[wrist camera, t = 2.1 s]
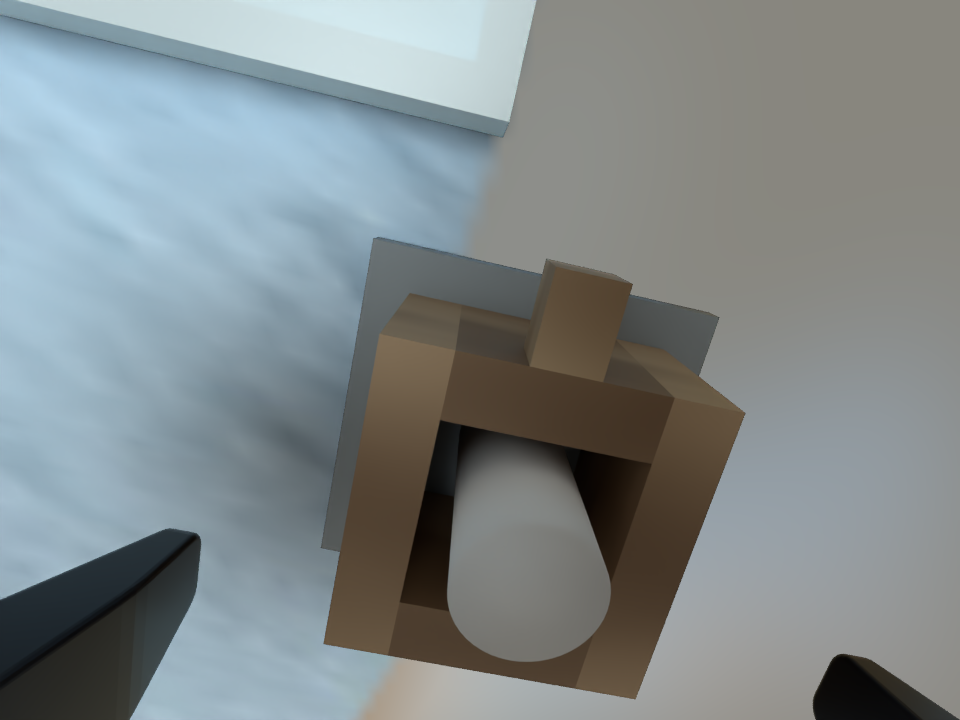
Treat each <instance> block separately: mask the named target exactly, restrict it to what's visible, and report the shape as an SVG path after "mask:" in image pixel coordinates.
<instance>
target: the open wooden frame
mask: <svg viewBox="0 0 960 720" xmlns="http://www.w3.org/2000/svg"><path fill="white" fill-rule="evenodd" d="M632 285H633V284H631V283H629V282H628V281H626V280H624V279H622V278H620V277H618V276H616V275H614V274H610V273H606V272H602V271H597V270H593V269H589V268H584V267H580V266H575V265H571V264H567V263H563V262H558V261H554V260H550V259H546V263H545V266H544V270H543V274H542V278H541V282H540V285H539V289H538V293H537V297H536V301H535V305H534V309H533V313H532V317H531V320H529V319H524V318H520V317H515V316H511V315H506V314H502V313H497V312H493V311H488V310H484V309H480V308H475V307H471V306H466V305H462V304H457V303H453V302H448V301H444V300H439V299H435V298H430V297H426V296H421V295H417V294H412V293H409V295H408V296H407V297H406V299H405V300H404V301H403V303H402V304H401V306H400V307H399V308H398V310H397V311H396V312H395V314H394V315H393V316H392V318H391V319H390V320H389V322H388V323H387V324H386V326H385V327H384V329H383V330H382V331H381V333H380V334H379V340H378V345H377V351H376V356H375V362H374V367H373V373H372V378H371V384H370V389H369V395H368V400H367V406H366V412H365V417H364V423H363V428H362V434H361V439H360V445H359V450H358V456H357V461H356V467H355V472H354V478H353V483H352V489H351V494H350V500H349V506H348V511H347V517H346V522H345V528H344V533H343V539H342V544H341V550H340V555H339V561H338V566H337V572H336V577H335V583H334V588H333V594H332V600H331V605H330V611H329V616H328V622H327V627H326V633H325V638H324V644H326V645H332V646H338V647H343V648H349V649H354V650H360V651H366V652H371V653H377V654H383V655H388V656H394V657H400V658H405V659H411V660H417V661H423V662H428V663H434V664H439V665H446V666H451V667H456V668H462V669H467V670H473V671H479V672H484V673H490V674H496V675H501V676H507V677H513V678H518V679H524V680H530V681H535V682H541V683H546V684H552V685H559V686H563V687H569V688H575V689H581V690H586V691H592V692H597V693H603V694H609V695H615V696H620V697H626V698H631V699H636V697H637V694H638V691H639V689H640V686H641V684H642V681H643V678H644V676H645V673H646V671H647V668H648V665H649V663H650V660H651V658H652V655H653V652H654V650H655V647H656V644H657V642H658V639H659V637H660V634H661V631H662V629H663V626H664V624H665V621H666V618H667V616H668V613H669V611H670V608H671V605H672V603H673V600H674V598H675V595H676V592H677V590H678V587H679V585H680V582H681V579H682V577H683V574H684V572H685V569H686V566H687V564H688V561H689V559H690V556H691V553H692V551H693V548H694V545H695V543H696V540H697V538H698V535H699V533H700V530H701V527H702V525H703V522H704V520H705V517H706V514H707V511H708V509H709V506H710V504H711V501H712V499H713V496H714V494H715V491H716V488H717V486H718V483H719V481H720V478H721V475H722V473H723V470H724V468H725V465H726V462H727V460H728V457H729V454H730V452H731V449H732V447H733V444H734V441H735V439H736V436H737V434H738V431H739V428H740V426H741V423H742V420H743V418H744V415H745V412H743V411H742V410H741V409H740V408H738V407H737V406H736V405H734V404H733V403H732V402H730V401H729V400H728V399H727V398H725V397H724V396H723V395H722V394H720V393H719V392H718V391H716V390H715V389H714V388H713V387H711V386H710V385H709V384H708V383H706V382H705V381H704V380H702V379H701V378H700V377H699V376H697V375H696V374H695V373H693V372H692V371H691V370H690V369H688V368H687V367H686V366H684V365H683V364H682V363H681V362H679V361H678V360H677V359H676V358H674V357H673V356H672V355H670V354H669V353H668V352H667V351H665V350H664V349H659V348H655V347H650V346H646V345H641V344H637V343H632V342H628V341H623V340H619V339H616V338H617V335H618V331H619V328H620V325H621V322H622V318H623V315H624V312H625V308H626V305H627V302H628V298H629V295H630V291H631V289H632ZM440 420H442V421H446V422H451V423H456V424H461V425H466V426H471V427H475V428H480V429H485V430H490V431H495V432H499V433H504V434H509V435H514V436H519V437H524V438H528V439H533V440H538V441H543V442H548V443H553V444H557V445H562V446H567V447H572V448H577V449H581V451H580V454H579V458H578V461H577V464H576V468H575V471H574V474H573V476H574V479H575V481H576V484H577V487H578V490H579V493H580V495H581V498H582V501H583V504H584V507H585V510H586V512H587V515H588V518H589V521H590V524H591V526H592V529H593V532H594V535H595V538H596V540H597V543H598V546H599V549H600V552H601V555H602V557H603V560H604V563H605V566H606V569H607V571H608V574H609V579H610V584H611V596H610V603H609V607H608V611H607V613H606V615H605V618H604V620H603V621H602V623H601V625H600V626H599V628H598V629H597V630H596V631H595V632H594V634H593V635H592V636H591V637H590V638H589V639H588V640H587V641H585V642H584V643H583V644H581V645H580V646H579V647H577V648H575V649H574V650H572V651H570V652H568V653H566V654H563V655H561V656H558V657H555V658H552V659H548V660H542V661H534V662H519V661H511V660H506V659H502V658H498V657H496V656H493V655H490V654H488V653H486V652H484V651H482V650H480V649H479V648H477V647H476V646H474V645H473V644H472V643H471V642H469V641H468V640H467V639H466V638H465V637H464V636H463V634H462V633H461V632H460V631H459V629H458V628H457V626H456V625H455V623H454V621H453V619H452V617H451V614H450V611H449V607H448V600H447V588H448V575H449V561H450V548H451V535H452V522H453V508H454V497H453V496H448V495H443V494H438V493H433V492H428V491H424V490H425V485H426V481H427V476H428V472H429V467H430V463H431V458H432V454H433V449H434V445H435V440H436V436H437V431H438V427H439V422H440Z"/></svg>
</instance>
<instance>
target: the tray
mask: <svg viewBox="0 0 960 720" xmlns="http://www.w3.org/2000/svg"><path fill="white" fill-rule="evenodd" d="M535 5H536V0H0V15H4V16H8V17H12V18H16V19H20V20H24V21H28V22H32V23H37V24H41V25H45V26H49V27H53V28H57V29H61V30H65V31H69V32H73V33H77V34H82V35H86V36H90V37H94V38H98V39H102V40H106V41H110V42H114V43H118V44H122V45H126V46H131V47H135V48H139V49H143V50H147V51H151V52H155V53H159V54H163V55H167V56H171V57H176V58H180V59H184V60H188V61H192V62H196V63H200V64H204V65H208V66H212V67H216V68H221V69H225V70H229V71H233V72H237V73H241V74H245V75H249V76H253V77H257V78H261V79H266V80H270V81H274V82H278V83H282V84H286V85H290V86H294V87H298V88H302V89H306V90H311V91H315V92H319V93H323V94H327V95H331V96H335V97H339V98H343V99H347V100H351V101H356V102H360V103H364V104H368V105H372V106H376V107H380V108H384V109H388V110H392V111H396V112H401V113H405V114H409V115H413V116H417V117H421V118H425V119H429V120H433V121H437V122H441V123H445V124H450V125H454V126H458V127H462V128H466V129H470V130H474V131H478V132H482V133H486V134H490V135H495V136H499V137H503V136H504V134H505V131H506V129H507V126H508V124H509V121H510V117H511V112H512V108H513V103H514V99H515V94H516V90H517V85H518V81H519V76H520V72H521V67H522V63H523V58H524V54H525V49H526V45H527V41H528V36H529V32H530V27H531V23H532V18H533V14H534V9H535Z"/></svg>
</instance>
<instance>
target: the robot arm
mask: <svg viewBox="0 0 960 720" xmlns="http://www.w3.org/2000/svg"><path fill="white" fill-rule="evenodd" d="M200 551H201V539H200V536H199V535H198V534H197V533H194V532H188V531H183V530H178V529H171V528H169V529H165V530H162V531H159V532H157V533H155V534H152V535H150V536H148V537H145V538H143V539H141V540H138V541H136V542H134V543H131V544H129V545H127V546H125V547H122V548H120V549H118V550H115V551H113V552H111V553H108V554H106V555H104V556H101V557H99V558H97V559H94V560H92V561H90V562H87V563H85V564H83V565H80V566H78V567H76V568H73V569H71V570H69V571H66V572H64V573H62V574H59V575H57V576H55V577H52V578H50V579H48V580H45V581H43V582H41V583H38V584H36V585H34V586H31V587H29V588H27V589H24V590H22V591H20V592H17V593H15V594H13V595H10V596H8V597H6V598H3V599H1V600H0V720H130V718H131V716H132V714H133V713H134V711H135V709H136V707H137V705H138V703H139V702H140V700H141V698H142V696H143V694H144V692H145V690H146V688H147V687H148V685H149V683H150V681H151V679H152V677H153V675H154V673H155V671H156V670H157V668H158V666H159V664H160V662H161V660H162V658H163V656H164V654H165V652H166V651H167V649H168V647H169V645H170V643H171V641H172V639H173V637H174V635H175V634H176V632H177V630H178V628H179V626H180V624H181V622H182V620H183V618H184V617H185V615H186V613H187V611H188V609H189V607H190V605H191V603H192V601H193V598H194V595H195V592H196V588H197V580H198V570H199V561H200ZM813 712H814V716H815V719H816V720H959V719H958V718H956V717H955V716H953V715H952V714H951V713H949V712H948V711H946V710H945V709H943V708H942V707H940V706H939V705H937V704H936V703H934V702H933V701H931V700H930V699H928V698H927V697H925V696H924V695H922V694H921V693H919V692H918V691H916V690H915V689H913V688H912V687H910V686H909V685H908V684H906V683H904V682H903V681H902V680H900V679H899V678H897V677H896V676H894V675H893V674H891V673H890V672H888V671H887V670H885V669H884V668H882V667H881V666H879V665H878V664H876V663H875V662H873V661H872V660H869V659H867V658H863V657H858V656H853V655H847V654H839V655H837V656H836V657H834V658H833V659H832V661H831V662H830V664H829V666H828V668H827V671H826V672H825V674H824V676H823V679H822V680H821V682H820V685H819V686H818V689H817V690H816V692H815V695H814V698H813Z"/></svg>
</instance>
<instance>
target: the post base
mask: <svg viewBox="0 0 960 720" xmlns="http://www.w3.org/2000/svg"><path fill="white" fill-rule="evenodd" d="M541 278H542V274H538V273H534V272H529V271H524V270H520V269H516V268H512V267H507V266H503V265H499V264H494V263H490V262H485V261H481V260H477V259H472V258H468V257H464V256H459V255H455V254H450V253H446V252H442V251H437V250H433V249H429V248H424V247H420V246H415V245H411V244H407V243H402V242H398V241H394V240H389V239H385V238H380V237H377V238H374V239H373V244H372V249H371V255H370V261H369V267H368V273H367V279H366V285H365V291H364V297H363V303H362V308H361V314H360V320H359V326H358V332H357V338H356V344H355V350H354V356H353V362H352V368H351V373H350V379H349V385H348V391H347V397H346V403H345V409H344V415H343V421H342V427H341V432H340V438H339V444H338V450H337V456H336V462H335V468H334V474H333V480H332V486H331V491H330V497H329V503H328V509H327V515H326V521H325V527H324V533H323V539H322V545H321V548H323V549H328V550H334V551H339V552H340V550H341V544H342V539H343V533H344V528H345V522H346V517H347V511H348V506H349V500H350V494H351V489H352V483H353V478H354V472H355V467H356V461H357V456H358V450H359V445H360V439H361V434H362V428H363V423H364V417H365V412H366V406H367V400H368V395H369V389H370V384H371V378H372V373H373V367H374V362H375V356H376V351H377V345H378V340H379V334H380V333H381V331H382V330H383V329H384V327H385V326H386V324H387V323H388V322H389V320H390V319H391V318H392V316H393V315H394V314H395V312H396V311H397V310H398V308H399V307H400V306H401V304H402V303H403V301H404V300H405V299H406V297H407V296H408V295H409V293H412V294H417V295H421V296H426V297H430V298H435V299H439V300H444V301H448V302H453V303H457V304H462V305H466V306H471V307H475V308H480V309H484V310H488V311H493V312H497V313H502V314H506V315H511V316H515V317H520V318H524V319H529V320H531V317H532V313H533V309H534V305H535V301H536V297H537V293H538V289H539V285H540V282H541ZM718 320H719V317H717V316H715V315H713V314H711V313H708V312H704V311H699V310H696V309H691V308H687V307H682V306H678V305H673V304H669V303H665V302H660V301H656V300H652V299H647V298H643V297H638V296H634V295H629V298H628V302H627V305H626V308H625V312H624V315H623V318H622V322H621V325H620V328H619V331H618V335H617V338H616V339H619V340H623V341H628V342H632V343H637V344H641V345H646V346H650V347H655V348H659V349H664V350H665V351H667V352H668V353H669V354H670V355H672V356H673V357H674V358H676V359H677V360H678V361H679V362H681V363H682V364H683V365H684V366H686V367H687V368H688V369H690V370H691V371H692V372H693V373H695V374H696V375H697V376H699V374H700V371H701V368H702V366H703V363H704V360H705V357H706V354H707V351H708V348H709V346H710V343H711V340H712V337H713V334H714V331H715V329H716V326H717V323H718ZM580 451H581V449H577V448H572V447H567V446H562V445H557V444H553V443H548V442H543V441H538V440H533V439H528V438H524V437H519V436H514V435H509V434H504V433H499V432H495V431H490V430H485V429H480V428H475V427H471V426H466V425H461V424H456V423H451V422H446V421H442V420H440V422H439V427H438V431H437V436H436V440H435V445H434V449H433V454H432V458H431V463H430V467H429V472H428V476H427V481H426V485H425V490H424V491H428V492H433V493H438V494H443V495H448V496H453V497H454V508H453V522H452V535H451V548H450V561H449V575H448V588H447V600H448V607H449V611H450V614H451V617H452V619H453V621H454V623H455V625H456V626H457V628H458V629H459V631H460V632H461V633H462V634H463V636H464V637H465V638H466V639H467V640H468V641H469V642H471V643H472V644H473V645H474V646H476V647H477V648H479V649H480V650H482V651H484V652H486V653H488V654H490V655H493V656H496V657H498V658H502V659H506V660H511V661H519V662H534V661H542V660H548V659H552V658H555V657H558V656H561V655H563V654H566V653H568V652H570V651H572V650H574V649H575V648H577V647H579V646H580V645H581V644H583V643H584V642H585V641H587V640H588V639H589V638H590V637H591V636H592V635H593V634H594V632H595V631H596V630H597V629H598V628H599V626H600V625H601V623H602V621H603V620H604V618H605V615H606V613H607V611H608V607H609V603H610V596H611V584H610V579H609V574H608V571H607V569H606V566H605V563H604V560H603V557H602V555H601V552H600V549H599V546H598V543H597V540H596V538H595V535H594V532H593V529H592V526H591V524H590V521H589V518H588V515H587V512H586V510H585V507H584V504H583V501H582V498H581V495H580V493H579V490H578V487H577V484H576V481H575V479H574V476H573V474H574V471H575V468H576V464H577V461H578V458H579V454H580Z"/></svg>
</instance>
